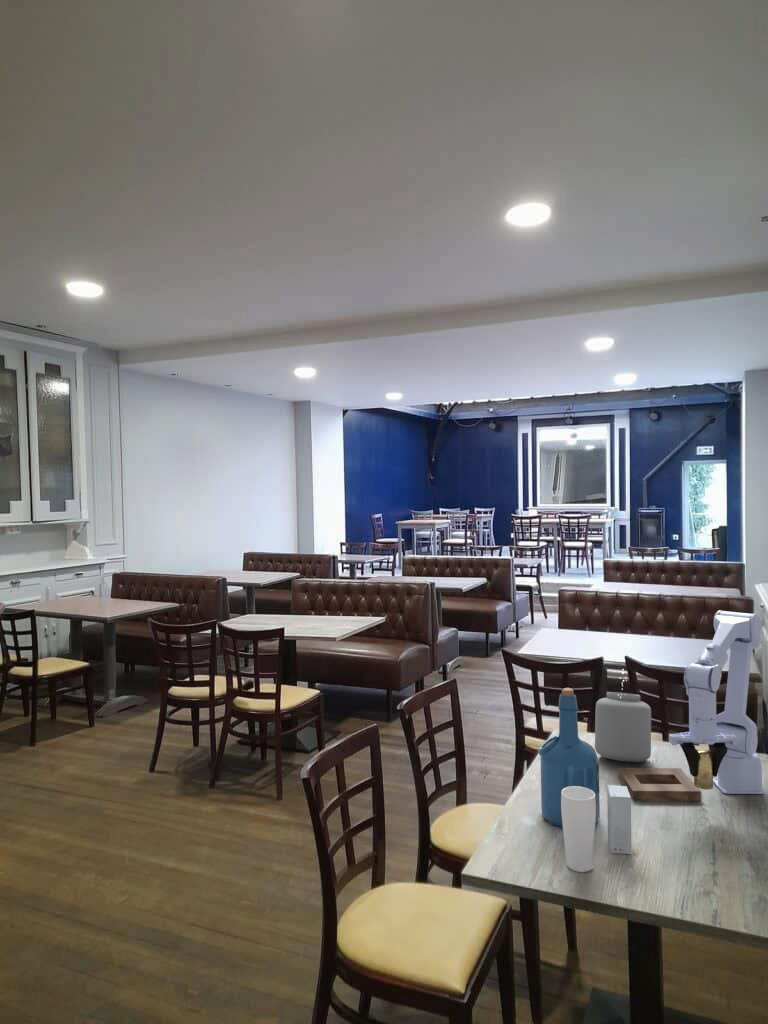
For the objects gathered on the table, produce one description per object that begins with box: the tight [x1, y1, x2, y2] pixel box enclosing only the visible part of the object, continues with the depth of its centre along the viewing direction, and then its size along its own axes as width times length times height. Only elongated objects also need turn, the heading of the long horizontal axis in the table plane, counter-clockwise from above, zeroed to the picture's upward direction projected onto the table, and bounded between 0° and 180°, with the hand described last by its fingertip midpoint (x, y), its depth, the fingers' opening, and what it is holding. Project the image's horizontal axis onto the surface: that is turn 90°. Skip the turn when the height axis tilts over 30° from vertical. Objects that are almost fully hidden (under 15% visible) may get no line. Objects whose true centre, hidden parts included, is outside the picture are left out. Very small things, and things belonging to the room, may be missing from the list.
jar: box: [594, 668, 652, 763], centre depth 193 cm, size 19×15×25 cm
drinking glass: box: [561, 786, 597, 873], centre depth 138 cm, size 7×7×15 cm
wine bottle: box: [537, 687, 601, 829], centre depth 159 cm, size 14×13×30 cm
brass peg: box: [693, 747, 714, 790], centre depth 159 cm, size 4×4×8 cm
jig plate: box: [617, 767, 702, 803], centre depth 173 cm, size 16×14×2 cm
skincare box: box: [606, 784, 632, 855], centre depth 146 cm, size 6×4×12 cm
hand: (703, 774), depth 159 cm, fingers closed on brass peg, 4 cm apart
